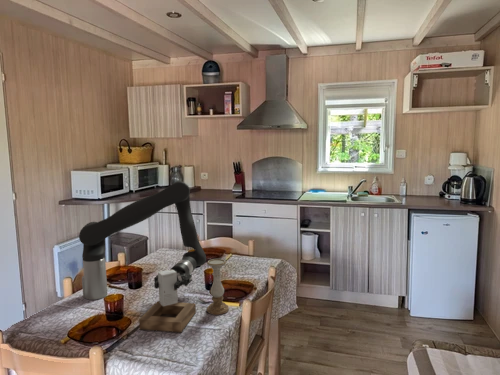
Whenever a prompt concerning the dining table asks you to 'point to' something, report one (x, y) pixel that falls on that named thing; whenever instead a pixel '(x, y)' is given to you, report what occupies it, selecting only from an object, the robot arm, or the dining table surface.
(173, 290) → the skincare box
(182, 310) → the walnut holder
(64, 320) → the dining table surface
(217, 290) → the candle holder
